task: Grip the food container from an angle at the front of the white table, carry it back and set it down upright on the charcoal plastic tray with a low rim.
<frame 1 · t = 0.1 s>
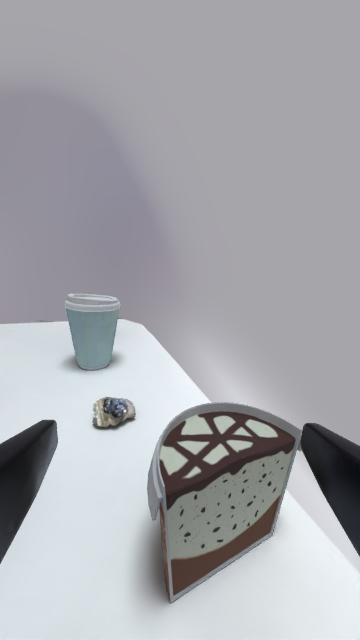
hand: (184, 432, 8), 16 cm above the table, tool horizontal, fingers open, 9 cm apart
food container: (205, 525, 19), on the table
crystal geode: (111, 412, 33), on the table
disposable coffee cup: (95, 365, 48), on the table
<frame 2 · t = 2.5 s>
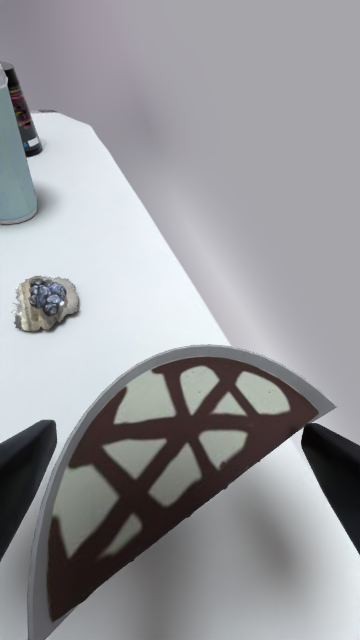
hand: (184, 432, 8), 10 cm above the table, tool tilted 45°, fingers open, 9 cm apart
food container: (168, 457, 16), on the table, touching gripper
supplement container: (23, 151, 41), on the table
crystal geode: (45, 302, 23), on the table
disposable coffee cup: (15, 213, 31), on the table
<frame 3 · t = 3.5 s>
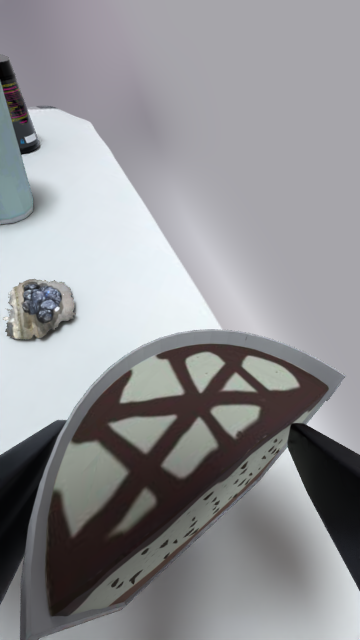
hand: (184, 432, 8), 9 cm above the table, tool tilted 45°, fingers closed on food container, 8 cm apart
food container: (173, 479, 14), point 1 cm above the table, touching gripper
supplement container: (20, 148, 40), on the table
crystal geode: (39, 308, 22), on the table
disposable coffee cup: (10, 212, 29), on the table
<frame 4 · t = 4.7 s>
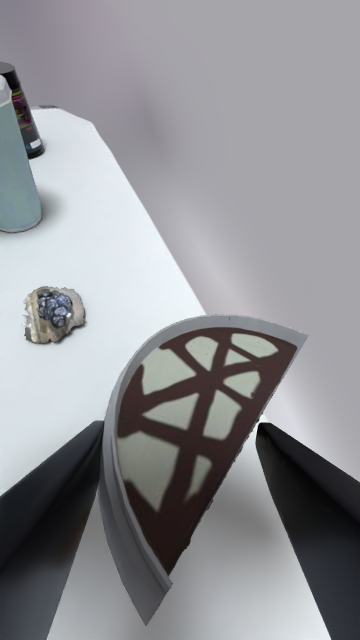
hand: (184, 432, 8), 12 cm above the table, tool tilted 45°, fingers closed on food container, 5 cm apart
food container: (175, 462, 15), point 3 cm above the table, touching gripper
supplement container: (25, 152, 41), on the table
crystal geode: (52, 313, 24), on the table
disposable coffee cup: (21, 220, 31), on the table
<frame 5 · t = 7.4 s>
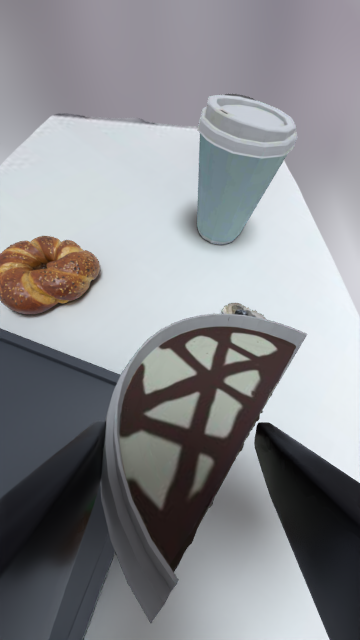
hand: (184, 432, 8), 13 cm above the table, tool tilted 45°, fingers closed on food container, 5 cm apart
food container: (175, 461, 15), point 4 cm above the table, touching gripper
tray: (0, 445, 18), on the table
crystal geode: (242, 331, 26), on the table
disposable coffee cup: (218, 233, 35), on the table
pretzel: (52, 280, 28), on the table
when the fingers open (11 cm above the table, at t = 10.6 s): food container drops 1 cm, resting on tray.
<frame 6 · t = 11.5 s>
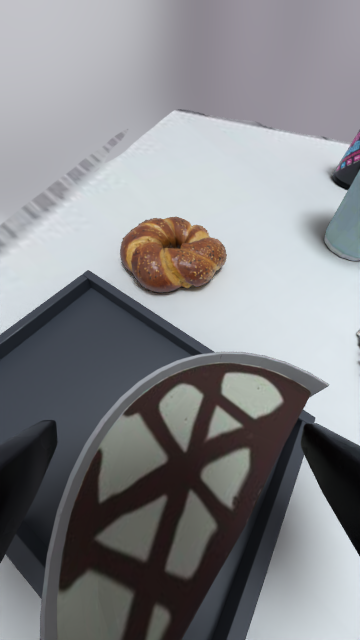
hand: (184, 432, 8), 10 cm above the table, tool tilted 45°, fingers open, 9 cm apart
food container: (171, 458, 16), resting on tray, touching gripper
tray: (122, 420, 17), on the table
supplement container: (348, 183, 42), on the table
disposable coffee cup: (346, 248, 31), on the table
pretzel: (173, 262, 27), on the table
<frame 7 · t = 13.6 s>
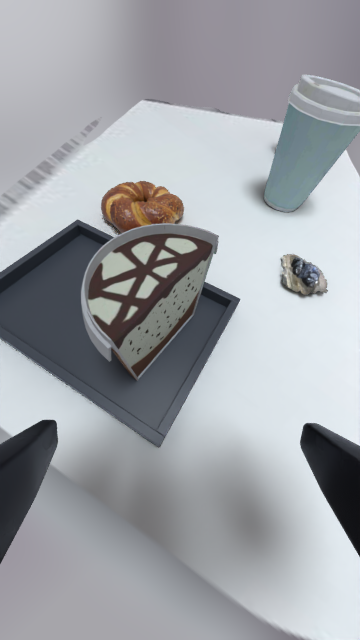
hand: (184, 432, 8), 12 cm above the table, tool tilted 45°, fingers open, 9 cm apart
food container: (145, 329, 24), resting on tray
tray: (110, 312, 25), on the table
crystal geode: (297, 275, 31), on the table
disposable coffee cup: (281, 203, 40), on the table
pretzel: (144, 217, 35), on the table
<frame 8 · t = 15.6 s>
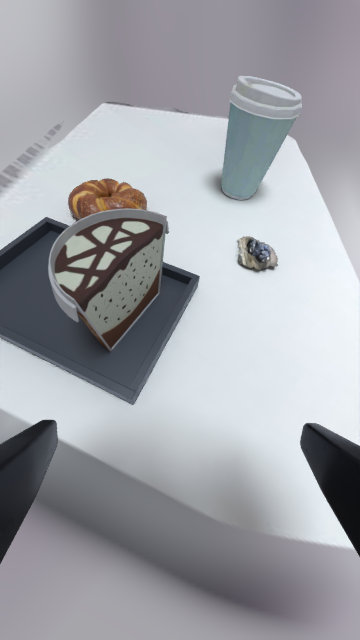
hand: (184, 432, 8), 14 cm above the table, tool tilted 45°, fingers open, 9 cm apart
food container: (116, 309, 26), resting on tray
tray: (83, 297, 27), on the table
crystal geode: (252, 254, 34), on the table
disposable coffee cup: (238, 193, 44), on the table
pretzel: (110, 212, 37), on the table
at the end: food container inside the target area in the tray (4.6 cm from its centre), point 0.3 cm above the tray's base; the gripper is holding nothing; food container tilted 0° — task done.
